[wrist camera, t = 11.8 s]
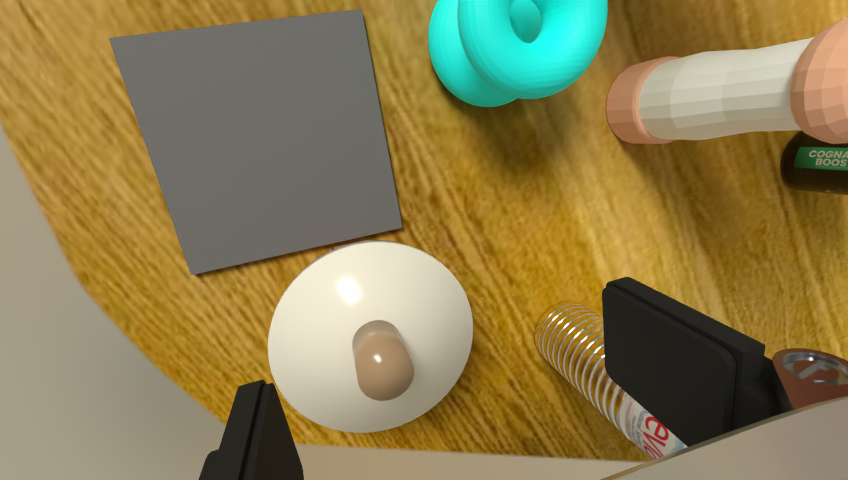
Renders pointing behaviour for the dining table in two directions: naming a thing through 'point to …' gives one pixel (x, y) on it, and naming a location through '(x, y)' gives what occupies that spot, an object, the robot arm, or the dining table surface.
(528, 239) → the dining table surface
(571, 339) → the water bottle
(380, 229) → the mat
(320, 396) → the lid
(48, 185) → the dining table surface
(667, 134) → the pepper shaker
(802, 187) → the supplement bottle
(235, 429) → the robot arm
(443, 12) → the donuts
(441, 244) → the dining table surface
